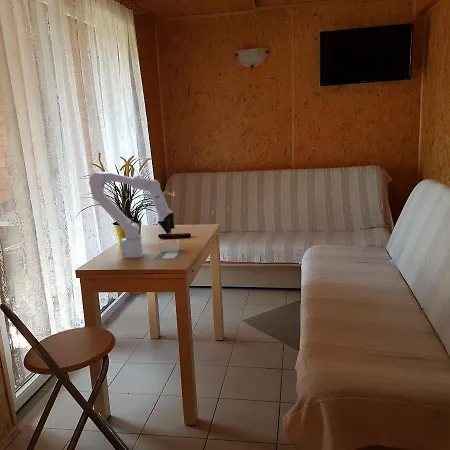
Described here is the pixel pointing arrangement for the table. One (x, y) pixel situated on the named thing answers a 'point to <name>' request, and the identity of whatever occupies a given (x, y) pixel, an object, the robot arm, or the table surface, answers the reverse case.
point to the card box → (169, 245)
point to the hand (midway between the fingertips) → (170, 230)
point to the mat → (169, 255)
